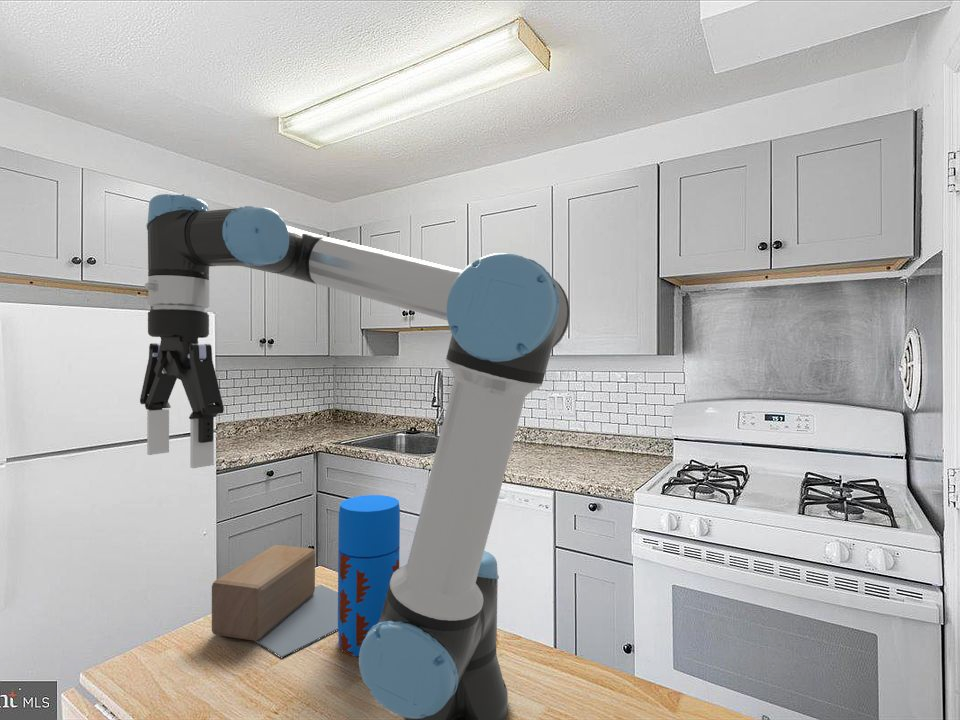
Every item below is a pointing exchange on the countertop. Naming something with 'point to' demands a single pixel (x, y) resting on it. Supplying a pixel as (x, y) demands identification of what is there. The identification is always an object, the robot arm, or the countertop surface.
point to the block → (262, 592)
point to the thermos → (365, 564)
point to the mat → (304, 623)
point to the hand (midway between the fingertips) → (179, 459)
